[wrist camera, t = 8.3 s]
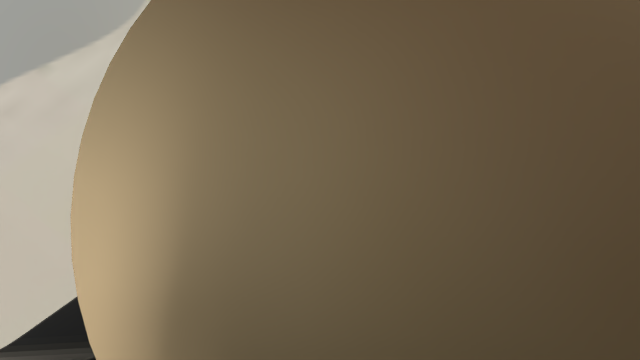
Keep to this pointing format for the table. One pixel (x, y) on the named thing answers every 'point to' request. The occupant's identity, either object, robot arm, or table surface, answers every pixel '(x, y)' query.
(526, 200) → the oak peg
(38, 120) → the table surface
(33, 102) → the table surface
